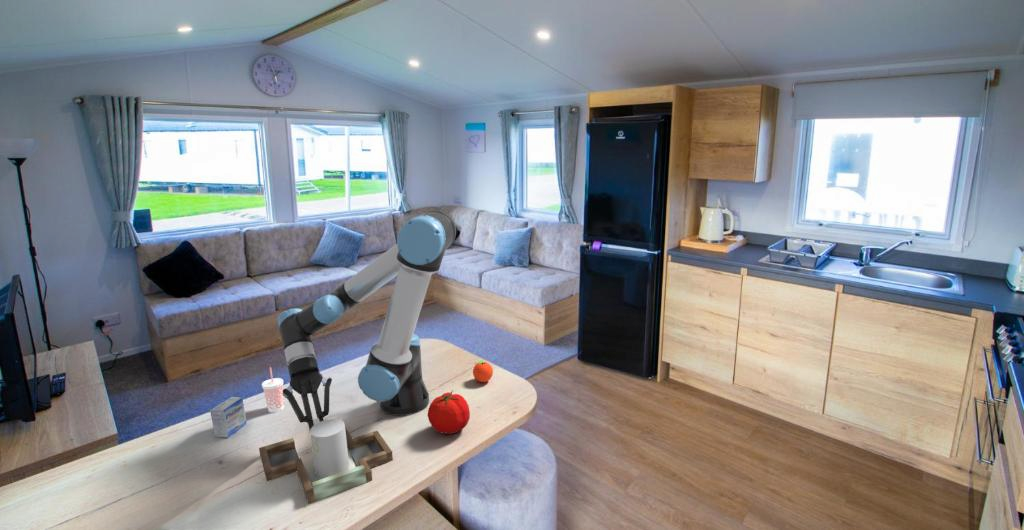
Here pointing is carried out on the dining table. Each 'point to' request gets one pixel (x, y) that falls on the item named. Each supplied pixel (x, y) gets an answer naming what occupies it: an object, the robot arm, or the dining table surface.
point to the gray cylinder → (329, 448)
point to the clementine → (482, 371)
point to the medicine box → (228, 417)
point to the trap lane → (365, 454)
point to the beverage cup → (274, 393)
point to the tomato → (448, 413)
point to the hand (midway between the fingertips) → (321, 444)
